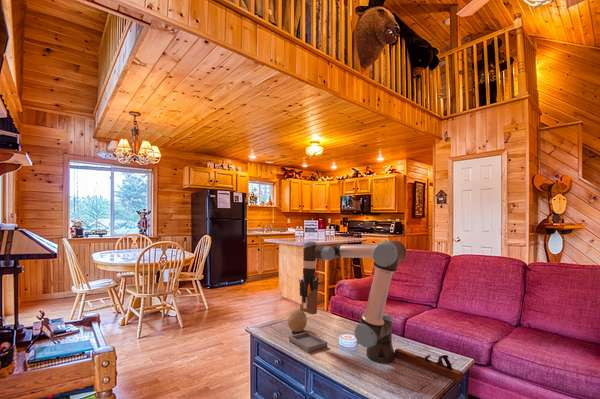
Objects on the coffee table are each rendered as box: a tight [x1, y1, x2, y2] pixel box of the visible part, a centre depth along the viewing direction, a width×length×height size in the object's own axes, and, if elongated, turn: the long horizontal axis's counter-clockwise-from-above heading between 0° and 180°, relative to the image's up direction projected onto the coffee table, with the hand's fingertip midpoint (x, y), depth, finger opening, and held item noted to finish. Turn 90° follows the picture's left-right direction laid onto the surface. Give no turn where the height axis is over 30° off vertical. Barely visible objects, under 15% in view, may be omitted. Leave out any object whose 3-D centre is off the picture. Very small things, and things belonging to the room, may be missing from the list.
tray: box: [288, 331, 328, 354], centre depth 183 cm, size 19×14×3 cm
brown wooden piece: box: [299, 282, 318, 315], centre depth 185 cm, size 4×11×18 cm, turn 44°
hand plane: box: [394, 347, 464, 384], centre depth 158 cm, size 34×5×10 cm, turn 44°
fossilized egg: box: [286, 307, 308, 333], centre depth 203 cm, size 13×13×15 cm
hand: (308, 307), depth 184 cm, fingers closed on brown wooden piece, 4 cm apart
